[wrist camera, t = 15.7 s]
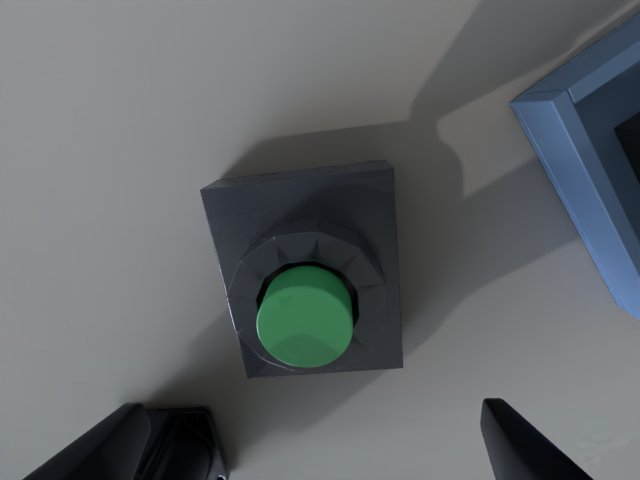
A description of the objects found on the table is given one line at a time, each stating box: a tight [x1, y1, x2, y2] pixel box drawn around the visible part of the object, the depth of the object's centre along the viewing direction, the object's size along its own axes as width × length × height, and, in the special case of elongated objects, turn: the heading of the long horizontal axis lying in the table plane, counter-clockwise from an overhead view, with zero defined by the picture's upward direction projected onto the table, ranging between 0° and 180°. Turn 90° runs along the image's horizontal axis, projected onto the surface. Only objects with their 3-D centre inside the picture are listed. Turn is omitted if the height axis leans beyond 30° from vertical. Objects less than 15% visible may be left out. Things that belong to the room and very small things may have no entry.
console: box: [200, 160, 403, 378], centre depth 16 cm, size 10×8×4 cm
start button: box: [256, 266, 353, 368], centre depth 13 cm, size 4×4×2 cm
